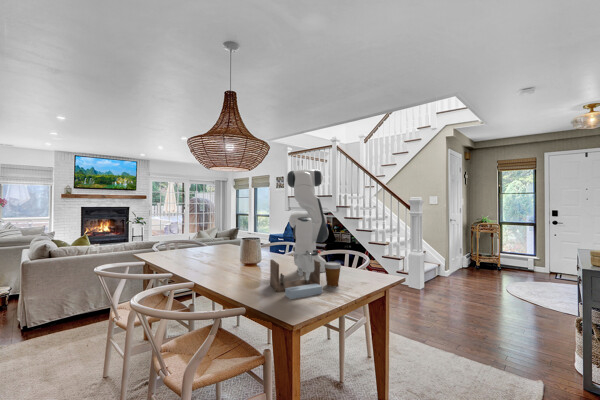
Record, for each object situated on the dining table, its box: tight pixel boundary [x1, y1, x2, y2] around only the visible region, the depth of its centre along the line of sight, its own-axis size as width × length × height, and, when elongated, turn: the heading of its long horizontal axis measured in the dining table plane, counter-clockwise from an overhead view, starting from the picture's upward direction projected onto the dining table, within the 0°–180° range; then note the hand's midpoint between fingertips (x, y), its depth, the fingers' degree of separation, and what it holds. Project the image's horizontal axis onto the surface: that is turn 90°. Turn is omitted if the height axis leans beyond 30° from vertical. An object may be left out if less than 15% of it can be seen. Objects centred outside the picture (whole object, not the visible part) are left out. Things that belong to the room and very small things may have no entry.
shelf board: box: [284, 283, 323, 300], centre depth 147 cm, size 18×6×4 cm, turn 120°
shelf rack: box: [269, 259, 321, 293], centre depth 162 cm, size 24×14×14 cm, turn 109°
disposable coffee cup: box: [324, 261, 342, 287], centre depth 165 cm, size 10×10×12 cm
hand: (303, 277), depth 147 cm, fingers open, 8 cm apart
